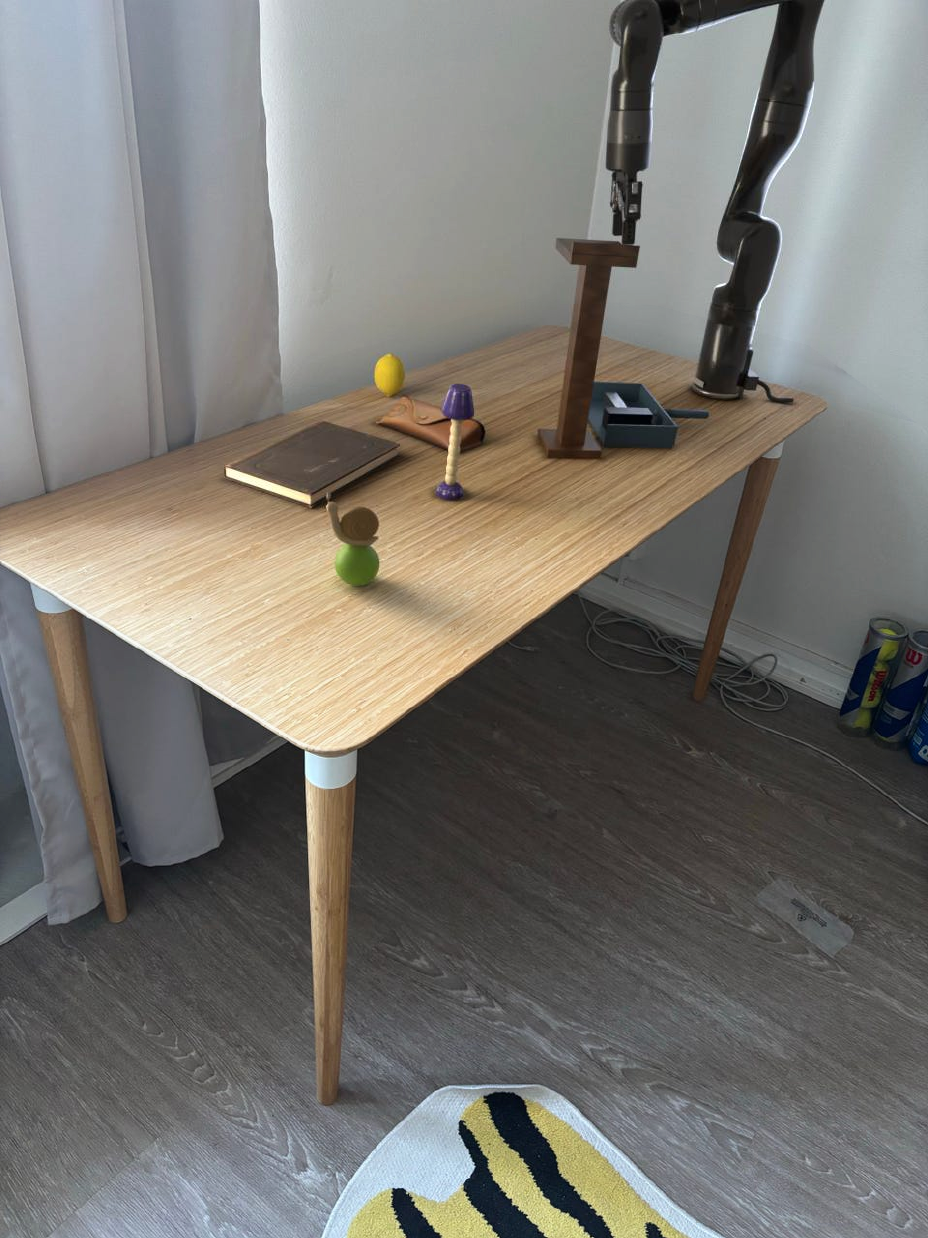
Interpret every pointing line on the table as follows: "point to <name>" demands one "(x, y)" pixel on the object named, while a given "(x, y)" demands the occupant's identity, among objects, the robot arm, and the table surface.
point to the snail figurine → (355, 543)
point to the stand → (584, 343)
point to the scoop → (637, 434)
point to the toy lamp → (455, 437)
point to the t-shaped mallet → (623, 412)
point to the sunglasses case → (430, 424)
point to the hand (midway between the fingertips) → (622, 239)
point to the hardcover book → (313, 463)
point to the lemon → (389, 374)
